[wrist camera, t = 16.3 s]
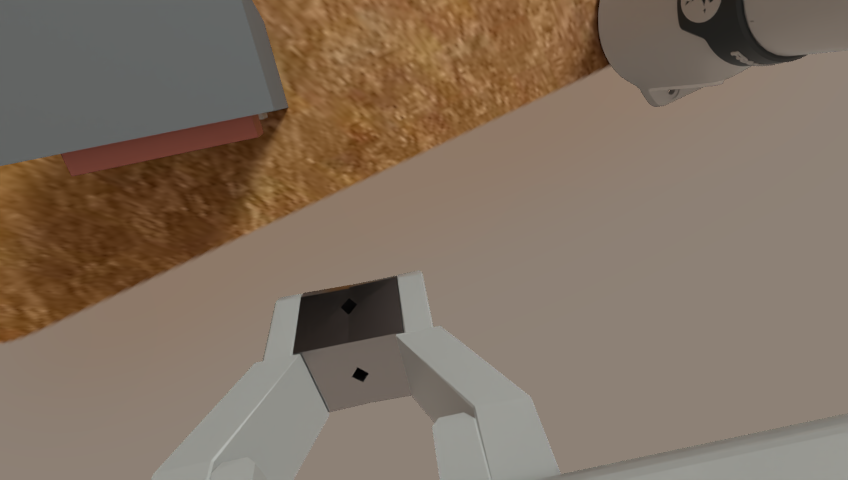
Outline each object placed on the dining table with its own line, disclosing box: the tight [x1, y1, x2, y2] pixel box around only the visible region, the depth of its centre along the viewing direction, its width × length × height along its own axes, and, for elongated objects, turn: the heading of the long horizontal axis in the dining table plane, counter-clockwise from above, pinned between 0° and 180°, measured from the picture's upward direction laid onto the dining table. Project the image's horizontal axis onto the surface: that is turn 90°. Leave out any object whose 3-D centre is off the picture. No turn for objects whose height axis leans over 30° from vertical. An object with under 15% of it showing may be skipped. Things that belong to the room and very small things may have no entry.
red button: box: [61, 114, 264, 176], centre depth 25 cm, size 4×10×3 cm, turn 101°
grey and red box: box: [0, 0, 288, 166], centre depth 28 cm, size 7×13×16 cm, turn 101°
